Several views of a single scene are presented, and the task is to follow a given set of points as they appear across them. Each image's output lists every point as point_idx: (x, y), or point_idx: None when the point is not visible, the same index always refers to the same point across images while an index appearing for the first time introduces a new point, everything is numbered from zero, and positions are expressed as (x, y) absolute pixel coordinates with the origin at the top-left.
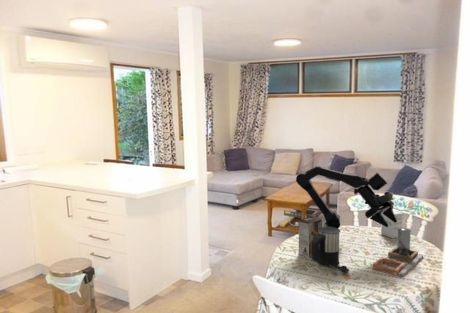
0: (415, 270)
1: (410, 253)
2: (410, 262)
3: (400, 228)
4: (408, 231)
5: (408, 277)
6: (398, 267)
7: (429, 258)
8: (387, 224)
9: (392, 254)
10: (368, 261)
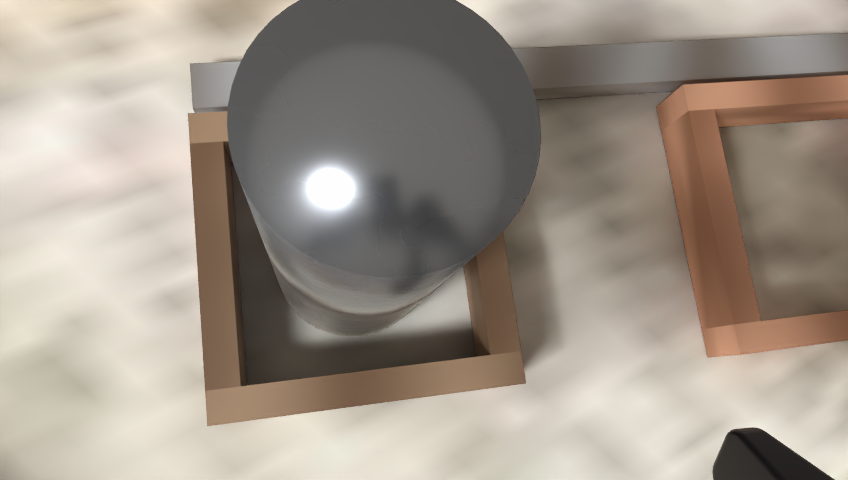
0: (626, 13)
1: (231, 208)
2: (541, 87)
3: (397, 216)
4: (448, 2)
5: (816, 5)
6: (833, 90)
7: (176, 14)
8: (788, 454)
9: (514, 323)
10: (819, 467)
